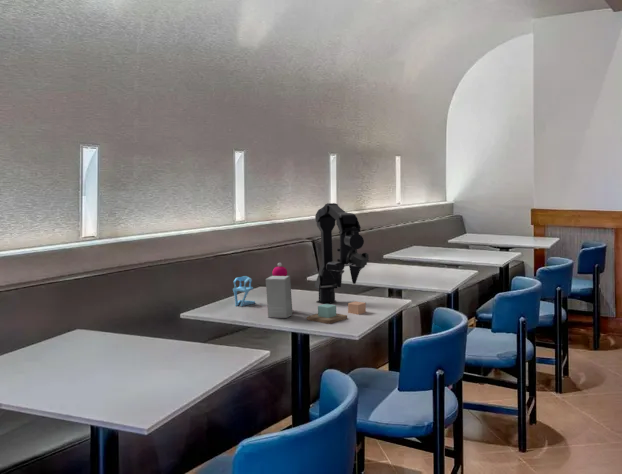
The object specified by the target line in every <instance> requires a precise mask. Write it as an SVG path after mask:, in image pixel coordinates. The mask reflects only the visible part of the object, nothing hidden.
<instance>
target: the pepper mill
mask: <svg viewBox="0 0 622 474" xmlns="http://www.w3.org/2000/svg"><path fill="white" fill-rule="evenodd" d="M271 272H272V276H288V270H287V268H286V267H284V266H283V264H282V262H278V263H277V266H275V267H274V268H273V270H272V271H271Z"/></svg>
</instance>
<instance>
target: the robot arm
mask: <svg viewBox="0 0 622 474" xmlns="http://www.w3.org/2000/svg"><path fill="white" fill-rule="evenodd" d="M314 219H315V222H316V226H317V228H318V230H319V231H320V246H321V249H320V250H321V251H320V252H321V266H320V267H319V270H318V273H317V274H318V275H317V277H316V280H315V283H314V285H315V289H317V290H318V300H316V303H317V304H318V303H319V304H334V303H336V302H337V301H338V300H336V292H335V289H338V288H342V280H343V279H342V278H343V273H344V272H345V270H344V269H345V268H346V267H349V272H350V276H351V277H350V278H351V281H352V284H353V285H356V283H357V280H358V277H359V274H360V272H361V270H362V269H364V268H365V266H368V262H369V258H370V257H369V253H368V252H363V253H358V250H359V249H362V247H364V242H365V240H364V237H363V236H362V234H360V233H361V225H360V221H359V219H358V217H357V216H356V214H355V213H353V212H347V211H345V210H344V209H343V208H341V207H340V206H339V204H338V203H335V202H332V203H330V202H329V203H325V204H324V206H323V207H321V208H319V209H318V210H317V212H316V213H315V216H314ZM335 226H337V228H338V234H339V248H337V252H339V258H337V260H336V261H335V260H333V233H332V232H333V230H334V229H335Z"/></svg>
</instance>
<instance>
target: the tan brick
mask: <svg viewBox="0 0 622 474" xmlns="http://www.w3.org/2000/svg"><path fill="white" fill-rule="evenodd" d="M366 308H367V307H366V302H363V301H362V302H361V301H352V302H348V303H347V313H348V314H352V315H362V314H364V313H367V311H366V310H367V309H366Z"/></svg>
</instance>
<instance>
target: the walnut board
mask: <svg viewBox="0 0 622 474" xmlns="http://www.w3.org/2000/svg"><path fill="white" fill-rule="evenodd" d="M346 319H348V315H347V314H341V313H337V312H336V316H334V317H330V318H325V317H320V316H318V313H315V314H311V315H307V316H306V320H308V321H313V322H318V323H323V324H327V325H329V324H333V323H337V322H340V321H343V320H346Z"/></svg>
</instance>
